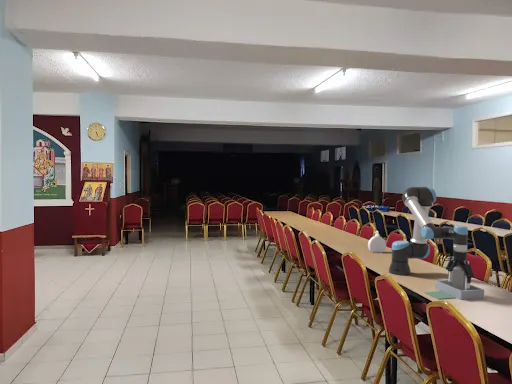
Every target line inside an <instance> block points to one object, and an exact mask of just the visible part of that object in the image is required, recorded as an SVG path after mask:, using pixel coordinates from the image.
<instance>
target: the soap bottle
mask: <svg viewBox="0 0 512 384" xmlns="http://www.w3.org/2000/svg"><path fill="white" fill-rule="evenodd" d="M375 232H376V233H375V234H374V236H372V237H371V238H370V239H369V240H368V243H367V249H368V250H369V252H370V253H381V254H382V253H385V251H386V248H387V243H386V240H385V239H384V238H382V236H381V235H380V234H379V231H378V230H375Z"/></svg>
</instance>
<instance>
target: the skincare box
mask: <svg viewBox="0 0 512 384" xmlns="http://www.w3.org/2000/svg"><path fill="white" fill-rule="evenodd" d="M452 272H453V276H452V287H454V288H456V289H459V290H461V291H464V290H465V278H466V275H465V273H464V271H463V269H462V268H461V267H460V266H455V267H454V268H453V271H452Z"/></svg>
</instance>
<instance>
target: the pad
mask: <svg viewBox="0 0 512 384" xmlns="http://www.w3.org/2000/svg"><path fill="white" fill-rule="evenodd" d="M424 294H426V295H427V296H430V297H432V298H434V297H435V298H434V299H436V298H437V299H436V300H447V299H449V300H450V299H456V297H454V296H452V295H449V294H447V293H445V292H442V291H440V290H437V291H424Z"/></svg>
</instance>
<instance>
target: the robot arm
mask: <svg viewBox="0 0 512 384" xmlns="http://www.w3.org/2000/svg"><path fill="white" fill-rule="evenodd" d="M401 198H402V201H403V204H404V205H405V206H406V207H408V209H409V210H410V213H411V214H412V215H413V217H414V221H413V222H414V224H413V233H412V238H410V240H409V241H408V240H395V241H393V242H392V244H391V263H390V264H389V267H388V272H389V273H390V274H393V275H399V276H409V275H411V271H412V270H411V268H410V265H409V259H417V260H418V259H420V260H422V259H426V258H428V256H429V255H430V253H431V248H430V244H429V243H428V241H427V240H446V239H448V240H453V245H452V246H453V247H452V248H453V251H452V256H449V259H448V262H447V265H446V267H445V270H447V271H448V272H447V274H448V280H449V282H452V276H453V268H454V267H455V266H459V267H461V268H462V269H463V271H464V273H465V275H466V278H465V288H466V289H467V288H470V285H471V282H472V279H474V278H475V275H474V272H473V269H472V266H471V261H470V260H467V257H468V240H469V239H468V235H469V230H468V229H469V228H468V227H467V226H465V225H454V226H453V227H452V226H435V224H434V223H433V222H432V220H431V219H430V217H429V213H430V208H431V207H432V205H433V204H434V203H435V202H436V201H437V192H436V191H435V189H434V188H433V187H431V186H430V187H429V186H410V187H408V188H406V189H405V190H404V191H403V194H402V197H401Z"/></svg>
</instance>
